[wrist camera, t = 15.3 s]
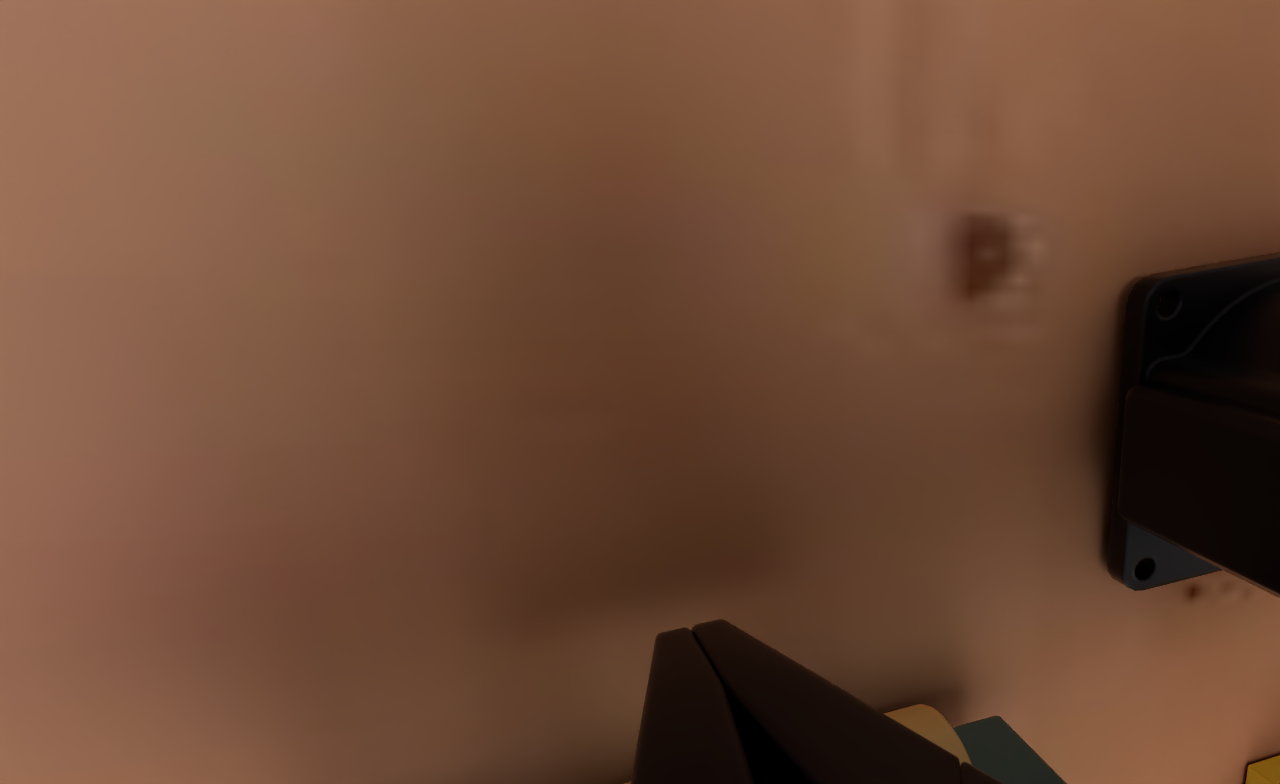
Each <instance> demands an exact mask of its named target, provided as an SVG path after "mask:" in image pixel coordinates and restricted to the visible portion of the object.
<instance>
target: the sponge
mask: <svg viewBox="0 0 1280 784" xmlns="http://www.w3.org/2000/svg"><path fill="white" fill-rule="evenodd" d="M1245 784H1280V755H1279V756H1276V757H1273V758H1270V759H1266V760H1263V761H1260V762H1257V763H1253V764H1250V765H1249V766H1248V770H1247V777H1246V783H1245Z"/></svg>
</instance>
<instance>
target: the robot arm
mask: <svg viewBox="0 0 1280 784" xmlns="http://www.w3.org/2000/svg"><path fill="white" fill-rule="evenodd" d="M1160 297H1161V301H1160V304H1159V307H1158V308H1157V304H1158V300H1159V298H1160ZM1221 570H1224V571H1226V572H1228V573H1230V574H1232V575H1234V576H1236V577H1238V578H1240V579H1242V580H1244V581H1246V582H1248V583H1250V584H1253V585H1255V586H1257V587H1259V588H1261V589H1263V590H1265V591H1267V592H1269V593H1271V594H1273V595H1275V596H1277V597H1279V598H1280V253H1274V254H1268V255H1262V256H1256V257H1251V258H1245V259H1239V260H1233V261H1227V262H1222V263H1216V264H1210V265H1204V266H1198V267H1192V268H1187V269H1181V270H1175V271H1169V272H1163V273H1158V274H1152V275H1149V276H1147V277H1144V278H1142V279H1141V280H1140V281H1139V282H1138V283H1136V284H1135V285H1134V287H1133V289H1132V290H1131V292H1130V294H1129V296H1128V300H1127V305H1126V317H1125V331H1124V345H1123V359H1122V372H1121V386H1120V400H1119V414H1118V427H1117V441H1116V455H1115V469H1114V483H1113V496H1112V510H1111V524H1110V538H1109V552H1108V572H1109V574H1110V575H1111V576H1112V578H1114V579H1115V580H1117V581H1119V582H1120V583H1122V584H1124V585H1125V586H1127V587H1129V588H1131V589H1133V590H1135V591H1138V590H1146V589H1150V588H1154V587H1158V586H1162V585H1166V584H1170V583H1173V582H1177V581H1181V580H1185V579H1189V578H1193V577H1197V576H1201V575H1205V574H1209V573H1213V572H1217V571H1221ZM630 784H1003V783H1002V782H1000V781H998V780H996V779H995V778H993V777H991V776H990V775H988V774H986V773H985V772H983V771H981V770H979V769H978V768H976V767H974V766H973V765H971V764H969V763H967V762H962V763H961V765H960V760H959V758H958V757H957V756H955V755H953V754H952V753H950V752H948V751H947V750H945V749H943V748H942V747H940V746H938V745H936V744H935V743H933V742H931V741H930V740H928V739H926V738H924V737H923V736H921V735H919V734H918V733H916V732H914V731H913V730H911V729H909V728H907V727H906V726H904V725H902V724H901V723H899V722H897V721H896V720H894V719H892V718H890V717H889V716H887V715H885V714H884V713H882V712H880V711H879V710H877V709H875V708H873V707H872V706H870V705H868V704H867V703H865V702H863V701H862V700H860V699H858V698H856V697H855V696H853V695H851V694H850V693H848V692H846V691H845V690H843V689H841V688H839V687H838V686H836V685H834V684H833V683H831V682H829V681H828V680H826V679H824V678H822V677H821V676H819V675H817V674H816V673H814V672H812V671H811V670H809V669H807V668H805V667H804V666H802V665H800V664H799V663H797V662H795V661H794V660H792V659H790V658H788V657H787V656H785V655H783V654H782V653H780V652H778V651H777V650H775V649H773V648H771V647H770V646H768V645H766V644H765V643H763V642H761V641H760V640H758V639H756V638H754V637H753V636H751V635H749V634H748V633H746V632H744V631H743V630H741V629H739V628H737V627H736V626H734V625H732V624H731V623H729V622H727V621H725V620H721V619H719V620H715V621H710V622H706V623H702V624H697V625H694V626H693V627H692V629H691V630H690V629H689V628H680V629H675V630H671V631H666V632H662V633H659V634H658V635H657V637H656V640H655V646H654V652H653V657H652V663H651V669H650V674H649V680H648V686H647V691H646V697H645V703H644V708H643V714H642V720H641V725H640V731H639V736H638V742H637V748H636V753H635V759H634V765H633V770H632V776H631V782H630Z"/></svg>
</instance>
